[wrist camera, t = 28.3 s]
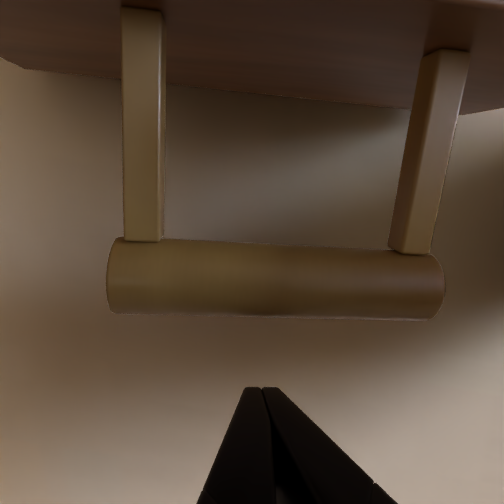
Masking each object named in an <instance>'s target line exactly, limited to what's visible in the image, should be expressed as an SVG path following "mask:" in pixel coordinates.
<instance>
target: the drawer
mask: <svg viewBox="0 0 504 504" xmlns="http://www.w3.org/2000/svg"><path fill="white" fill-rule="evenodd" d="M0 57H1V58H3V59H5V60H7V61H9V62H11V63H13V64H15V65H17V66H19V67H22V68H24V69H30V70H39V71H49V72H58V73H68V74H77V75H87V76H96V77H106V78H115V79H121V104H122V165H123V225H124V236H120V237H118V238H116V239H115V241H114V243H113V245H112V247H111V250H110V253H109V257H108V263H107V271H106V295H107V301H108V305H109V308H110V310H111V311H112V312H113V313H115V314H145V315H188V316H230V317H273V318H315V319H358V320H401V321H427V320H429V319H431V318H433V317H434V316H436V315H437V313H438V312H439V311H440V309H441V307H442V304H443V301H444V297H445V278H444V273H443V270H442V267H441V265H440V263H439V262H438V260H437V259H436V258H435V257H434V256H433V255H431V254H429V252H430V247H431V242H432V238H433V233H434V228H435V223H436V219H437V214H438V209H439V205H440V200H441V195H442V191H443V186H444V181H445V177H446V172H447V167H448V163H449V158H450V153H451V148H452V144H453V139H454V134H455V130H456V125H457V120H458V116H459V115H466V114H472V113H477V112H483V111H488V110H494V109H500V108H504V0H0ZM166 84H172V85H182V86H191V87H201V88H210V89H220V90H229V91H239V92H248V93H258V94H267V95H277V96H286V97H296V98H305V99H315V100H324V101H334V102H343V103H353V104H362V105H372V106H381V107H391V108H400V109H410V110H411V116H410V121H409V127H408V132H407V138H406V143H405V149H404V155H403V160H402V166H401V171H400V177H399V182H398V188H397V193H396V199H395V204H394V210H393V215H392V221H391V226H390V232H389V238H388V243H387V245H388V247H389V248H391V249H393V250H383V249H363V248H343V247H323V246H303V245H284V244H264V243H244V242H224V241H205V240H185V239H165V238H162V236H163V235H164V186H165V111H166Z"/></svg>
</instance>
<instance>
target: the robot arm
mask: <svg viewBox="0 0 504 504" xmlns="http://www.w3.org/2000/svg"><path fill="white" fill-rule="evenodd" d="M373 483H374V481H373V480H372V479H371V478H370V477H369V476H368V475H367V474H366V473H365V472H364V471H363V470H362V469H361V468H360V467H359V466H358V465H357V464H356V463H355V462H354V461H353V460H352V459H351V458H350V457H349V456H348V455H347V454H346V453H345V452H344V451H343V450H342V449H341V448H340V447H339V446H338V445H337V444H336V443H335V442H333V441H332V440H331V439H330V438H329V437H328V436H327V435H326V434H325V433H324V432H323V431H322V430H321V429H320V428H319V427H318V426H317V425H316V424H315V423H314V422H313V421H312V420H311V419H310V418H309V417H308V416H307V415H306V414H305V413H304V412H303V411H302V410H301V409H300V408H299V407H298V406H297V405H296V404H294V403H293V402H292V401H291V400H290V399H289V398H288V397H287V396H286V395H285V394H284V393H283V392H282V391H281V390H280V389H279V388H278V387H263V388H262V389H261V388H259V387H246V388H245V389H244V390H243V393H242V395H241V397H240V400H239V402H238V405H237V407H236V410H235V412H234V414H233V417H232V419H231V422H230V424H229V427H228V429H227V431H226V434H225V436H224V439H223V441H222V444H221V446H220V448H219V451H218V453H217V456H216V458H215V461H214V463H213V465H212V468H211V470H210V473H209V475H208V478H207V480H206V482H205V485H204V487H203V491H202V492H201V494H200V496H199V499H198V501H197V504H398V503H397V502H395V501H394V500H393V499H392V498H391V497H390V496H389V495H388V494H387V493H386V492H385V491H384V490H383V489H382V488H381V487H380V486H379V485H378V484H377V483H374V484H373Z"/></svg>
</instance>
